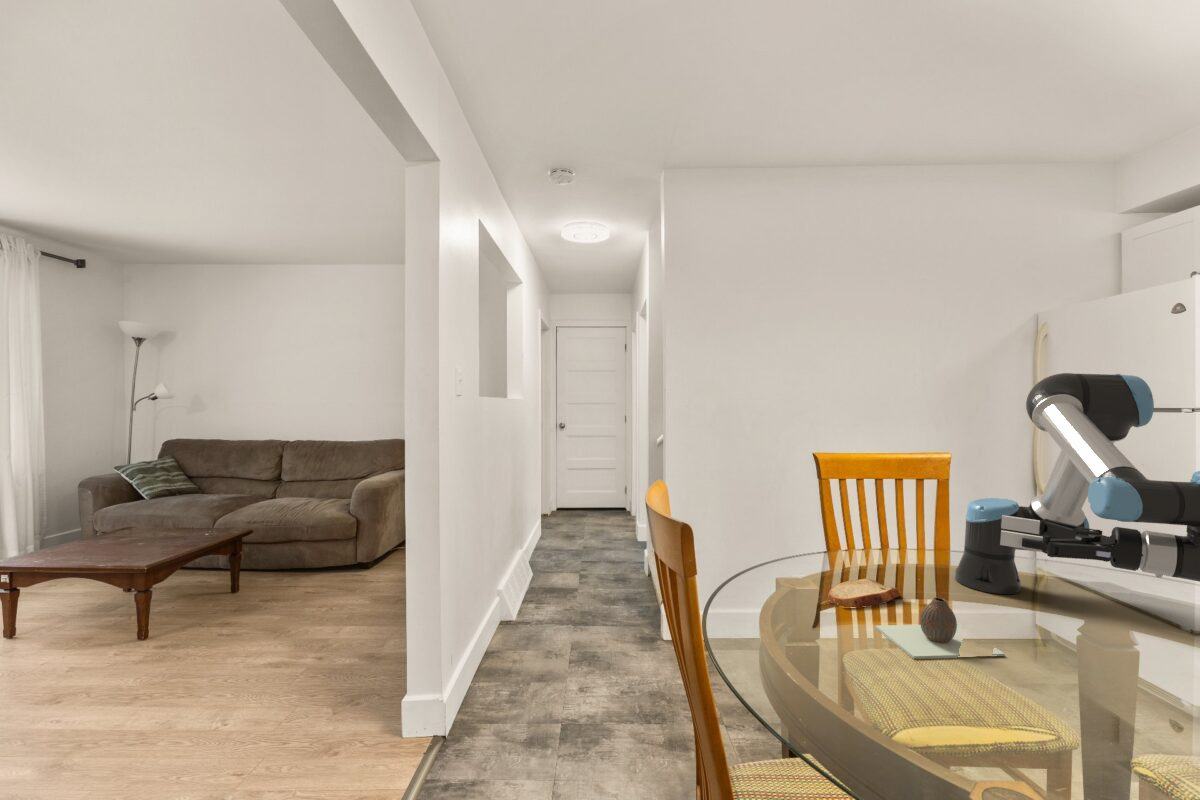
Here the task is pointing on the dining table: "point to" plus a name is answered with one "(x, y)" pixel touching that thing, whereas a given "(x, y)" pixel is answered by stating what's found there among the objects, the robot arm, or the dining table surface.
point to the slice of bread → (861, 593)
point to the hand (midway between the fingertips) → (1000, 529)
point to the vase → (938, 621)
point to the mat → (923, 642)
